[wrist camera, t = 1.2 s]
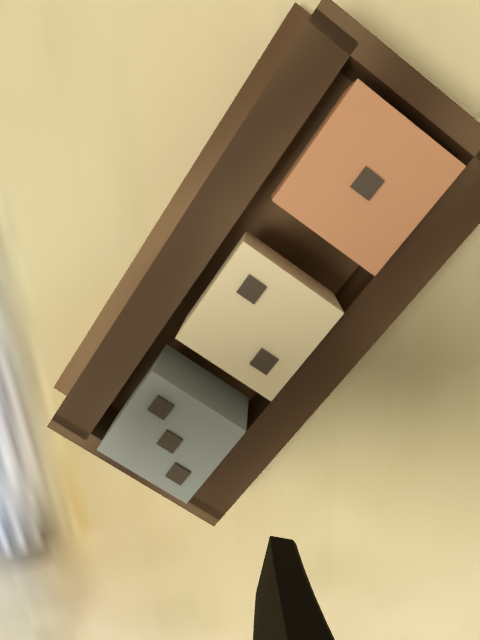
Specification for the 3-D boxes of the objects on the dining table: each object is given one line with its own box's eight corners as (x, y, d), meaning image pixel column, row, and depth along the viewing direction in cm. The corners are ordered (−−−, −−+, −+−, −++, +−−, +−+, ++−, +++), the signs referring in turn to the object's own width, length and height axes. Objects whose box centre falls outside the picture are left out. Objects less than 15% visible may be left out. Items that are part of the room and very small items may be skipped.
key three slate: (249, 397, 19) (246, 433, 16) (195, 463, 20) (185, 505, 17) (166, 344, 18) (151, 372, 16) (117, 415, 19) (95, 451, 17)
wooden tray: (504, 179, 17) (550, 182, 15) (235, 490, 23) (231, 536, 20) (294, 7, 16) (300, -27, 13) (59, 381, 21) (27, 415, 18)
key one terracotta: (435, 165, 16) (467, 165, 13) (359, 260, 17) (375, 277, 14) (343, 92, 15) (358, 78, 13) (270, 195, 16) (271, 201, 14)
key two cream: (333, 292, 17) (344, 314, 15) (270, 371, 18) (271, 403, 16) (246, 230, 17) (243, 241, 14) (187, 315, 18) (174, 339, 15)
